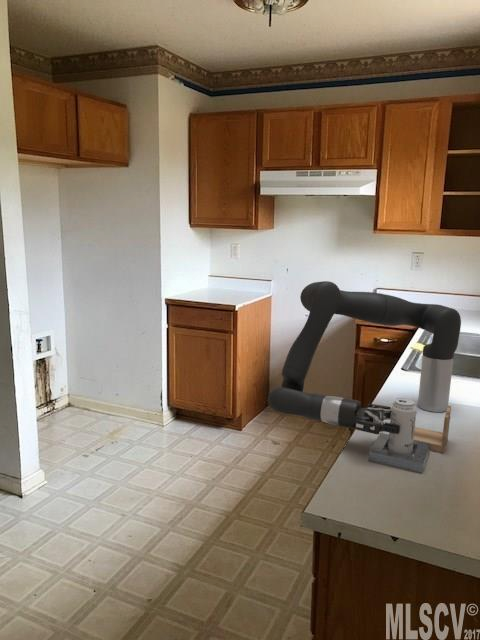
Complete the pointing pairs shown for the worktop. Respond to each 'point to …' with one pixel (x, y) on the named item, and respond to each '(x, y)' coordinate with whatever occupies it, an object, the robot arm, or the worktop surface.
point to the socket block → (396, 459)
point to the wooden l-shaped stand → (435, 435)
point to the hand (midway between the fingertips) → (402, 423)
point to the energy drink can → (402, 426)
